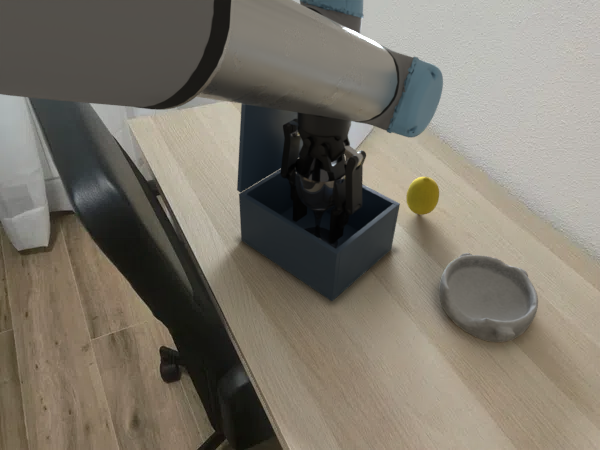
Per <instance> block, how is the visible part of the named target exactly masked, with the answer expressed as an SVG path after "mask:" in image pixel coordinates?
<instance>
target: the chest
mask: <svg viewBox="0 0 600 450" xmlns="http://www.w3.org/2000/svg"><path fill="white" fill-rule="evenodd" d="M298 159H299V158H298ZM280 173H281V169H279V170H278V171H276V172H274V173H273V174H271V175H269V176H268V177H266V178H264V179H263V180H261V181H259V182H258V183H256V184H254V185H253V186H251V187H249V188H248V189H246V190H244V191H243V192H241V193H240V192H239V193H238V199H239V221H240V241H241V242H243V243H244V244H246V245H247V246H249V247H251V248H252V249H253V250H255V251H257V252H258V253H260V255H262V256H264V257H266V258H267V259H269V260H270V261H271V262H273V263H274V264H276V265H277V266H279V267H280V268H282V269H283V270H285V271H286V272H287V273H289V274H291V275H292V276H293V277H295V278H297V279H299V280H300V281H301V282H302V283H304V284H306V285H307V286H308V287H310V288H311V289H313V290H314V291H316V292H317V293H318V294H320V295H322V296H324V297H325V298H326V299H328V300H329V301H331V302H333V301H334V300H335V299H336V298H338V297H339V296H340V295H341V294H342V293H343V292H345V291H346V290H347V289H348V288H349V287H350V286H351V285H353V284H354V283H355V282H356V281H357V280H358V279H360V277H362V276H363V275H364V274H365V273H366V272H368V271H369V270H370V269H371V268H372V267H374V265H375V264H377V263H378V262H379V261H380V260H382V259H383V258H384V257H385V256H386V255H387V254H388V253H389V252H390V251H391V250H392V248H393V242H394V237H395V232H396V227H397V222H398V216H399V211H400V206H401V203H400V202H398V201H396V200H394V199H392V198H390V197H388V196H386V195H385V194H383V193H381V192H379V191H377V190H375V189H373V188H371V187H369V186H367V185H365V184H364V183H362V207H361V208H360V209H359V210H357V211H356V212H355V213H353V214H352V215H349V219H348V223H347V225H345V226H344V230H343V236H342V237H340V238H339V239H338V246H337V248H336V249H335V248H334V247H332V246H331V245H329V244H327V243H326V242H324V241H322V240H321V239H319V238H317V237H316V236H314V235H312V234H311V233H309V232H308V231H306V230H304V229H306V228H310V227H315V218H314V214H313V212H312V211H311V210H310V209H309V208H307V215H305V216H304V217H302V218H301V219H300V220H298V221H297V222H295V221H294V220H293V200H291V197H290V196H291V185H290V184H289V180H288V179H287V178H282V177H281V174H280ZM334 207H335V206H334ZM334 207H333V208H334ZM333 208H331V209H330V210H328V211H326V212H325V213H324V214H323V216H322V220H321V224H320V227H321V228H325V229H328V230H330V218H331V210H332V209H333Z"/></svg>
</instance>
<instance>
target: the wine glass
mask: <svg viewBox="0 0 600 450" xmlns="http://www.w3.org/2000/svg"><path fill="white" fill-rule="evenodd" d="M297 161H298V160H297ZM297 161H296V164H295V185H296V190H297V194H298V197H299V199H300V201H301V202H302V203H303V204H304V205H305V206H306V207H307V208H309V209H310V210H311V211H312V212H313V214H314V218H315V227H310V228H306V229H304V230H306V231H308V232H309V233H311V234H312V235H314V236H316V237H317V238H319V239H321V240H322V241H324V242H326V243H327V244H329V245H331V246H332V247H334V248H335V249H336V248H337V246H338V240H337V241H335V242H334V243H333V244H331V243H330V242H329V230H328V229H325V228H321V227H320V224H321V220H322V216H323V214H324V213H325V212H326V211H328V210H330V209H331V208H333V207H334V206H335V203H334V199H333V198H334V194H335V186H336V183H338V184H340V183H342V182H343V181H344V180H345V176H343V177H342V178H340V179H338V180H335V181H331V182H330V181H329V177H328V173H327V171H325V170H324V167H323V162H321V161H320V160H319V159H317V158H314V160H313V162H312V164H311V166H310V168H309V170H308V172H307V173H306V174H304V175H303V176H301V175H300V174H299V173H298V172H297ZM344 168H345V170H346V165H345V164H344Z"/></svg>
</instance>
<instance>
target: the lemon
mask: <svg viewBox="0 0 600 450" xmlns="http://www.w3.org/2000/svg"><path fill="white" fill-rule="evenodd" d="M405 198H406V199H405V200H406V205H407V207H408V209H409V210H410V211H411V212H413V214H416V215H421V216H425V215H428V214H429V213H431V212H433V211H434V210H435V209H436V207H437V205H438V203H439V200H440V188H439V185H438V183H437V181H435V180H434V179H433V178H432V177H430V176H419V177H417V178H415V179H414V180H413V181H412V182H411V183H410V184H409V186H408V188H407V190H406V197H405Z"/></svg>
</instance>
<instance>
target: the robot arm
mask: <svg viewBox="0 0 600 450" xmlns="http://www.w3.org/2000/svg"><path fill="white" fill-rule="evenodd" d="M363 19H364V0H299V2H297V1H295V0H0V95H2V96H12V97H19V98H21V97H22V98H31V99H39V100H50V101H59V102H60V101H62V102H73V103H85V104H86V103H87V104H94V105H95V104H96V105H107V106H109V105H110V106H117V107H118V106H119V107H130V108H135V109H136V108H137V109H146V110H156V111H157V110H158V111H165V110H172V109H176V108H178V107H181V106H184V105H186V104H188V103H189V102H192V101H193V100H194V99H196V98H201V99H207V100H208V99H209V100H215V101H220V102H228V103H234V104H240V105H241V104H246V105H253V106H259V107H266V108H272V109H279V110H285V111H292V112H298V116H297V119H293V120H291V121H290V122H288V123H286V124H284V125H283V132H284V138H285V139H284V147H283V156H282V164H281V173H280V174H281V177H282V178H287V179H288V180H289V184H290V185H291V196H290V197H291V200H293V220H294V221H295V222H297V221H298V220H300V219H301V218H302V217H304V216H305V215H307V207H306V206H305V205H304V204H303V203H302V202H301V201H300V199H299V197H298V194H297V190H296V185H295V164H296V161H297V160H298V161H297V172H298V173H299V174H300V175H301V176H303V175H304V174H306V173H307V172H308V170H309V168H310V166H311V164H312V162H313V160H314V158H317V159H319V160H320V161H321V162H323V167H324V170H325V171H327V173H328V177H329V181H330V182H331V181H335V180H338V179H340V178H342V177H343V176H345V180H344V181H343V182H342V183H340V184H338V183H336V186H335V194H334V198H333V199H334V203H335V207H334V208H333V209H332V210H331V218H330V230H329V242H330V243H331V244H333V243H334V242H335V241H337V240H338V239H339V238H340V237H342V236H343V230H344V226H345V225H347V223H348V219H349V215H352V214H353V213H355V212H356V211H357V210H359V209H360V208H361V207H362V184H363V175H364V174H363V171H364V168H363V165H364V163H365V161H366V158H367V153H366V151H365V150H363V149H361V150H356V149H354V148H353V147H352V146H351V142H350V140H349V133H350V129H351V126H352V123H358V124H365V125H369V126H374V127H375V128H378V129H381V130H383V131H386V133H389V134H396V135H399V136H402V137H405V138H415V137H419V136H420V135H421V134H422V133H423V132H424V131H425V130H426V129H427V128H428V126H429V125H430V124H431V121H432V120H433V118H434V116H435V114H436V112H437V109H438V106H439V104H440V100H441V97H442V93H443V89H444V88H443V87H444V78H443V73H442V70H441V69H440V67H439V66H437V65H435V64H434V63H431V62H428V61H425V60H422V59H420V58H419V57H418V56H409V55H407V54H403V53H400V52H397V51H395V50H392V49H390V48H388V47H386V46H384V45H382V44H379V43H378V42H376V41H374V40H373V39H370V38H369V37H366V36H365V35H362V34H361V33H362V24H363ZM301 139H302V141H303V146H302V148H301V151H300V153H299V148H300V141H301ZM298 155H300V157H299V159H298ZM344 164H345V165H346V170H345V168H344Z"/></svg>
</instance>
